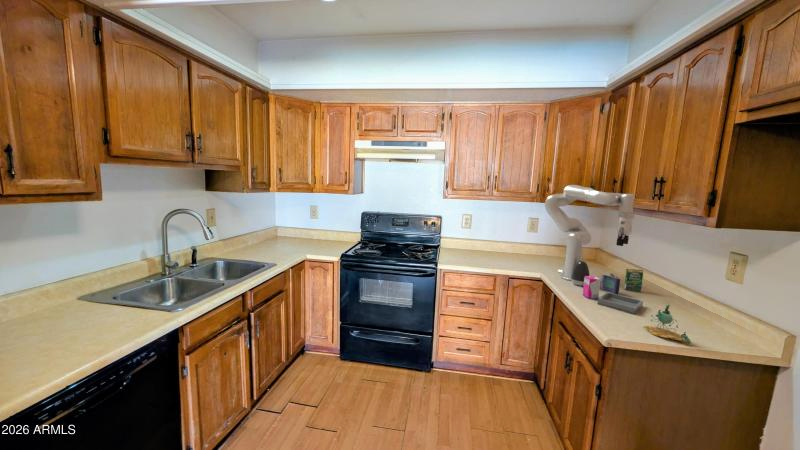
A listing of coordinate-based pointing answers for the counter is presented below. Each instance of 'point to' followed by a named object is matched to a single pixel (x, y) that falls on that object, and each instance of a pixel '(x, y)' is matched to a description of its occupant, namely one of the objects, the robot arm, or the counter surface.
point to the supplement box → (591, 287)
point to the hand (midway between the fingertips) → (622, 244)
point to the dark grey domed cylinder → (580, 273)
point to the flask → (610, 283)
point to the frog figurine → (667, 319)
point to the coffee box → (633, 280)
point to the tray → (620, 303)
